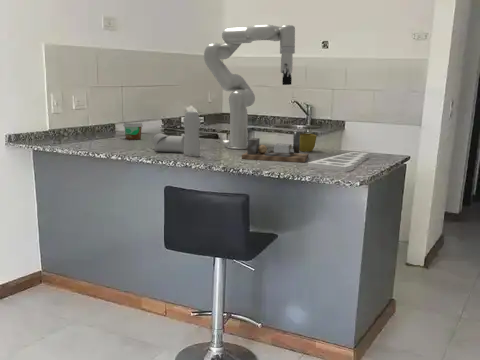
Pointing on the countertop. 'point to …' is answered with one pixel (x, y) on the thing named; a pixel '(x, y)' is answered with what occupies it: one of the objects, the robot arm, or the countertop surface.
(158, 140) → the bent grey cylinder
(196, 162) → the countertop surface
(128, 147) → the countertop surface
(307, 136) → the flower pot
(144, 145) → the countertop surface
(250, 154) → the press base
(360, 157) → the holder
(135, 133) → the food container
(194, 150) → the tall pale column
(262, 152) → the nut
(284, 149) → the ram
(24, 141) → the countertop surface
